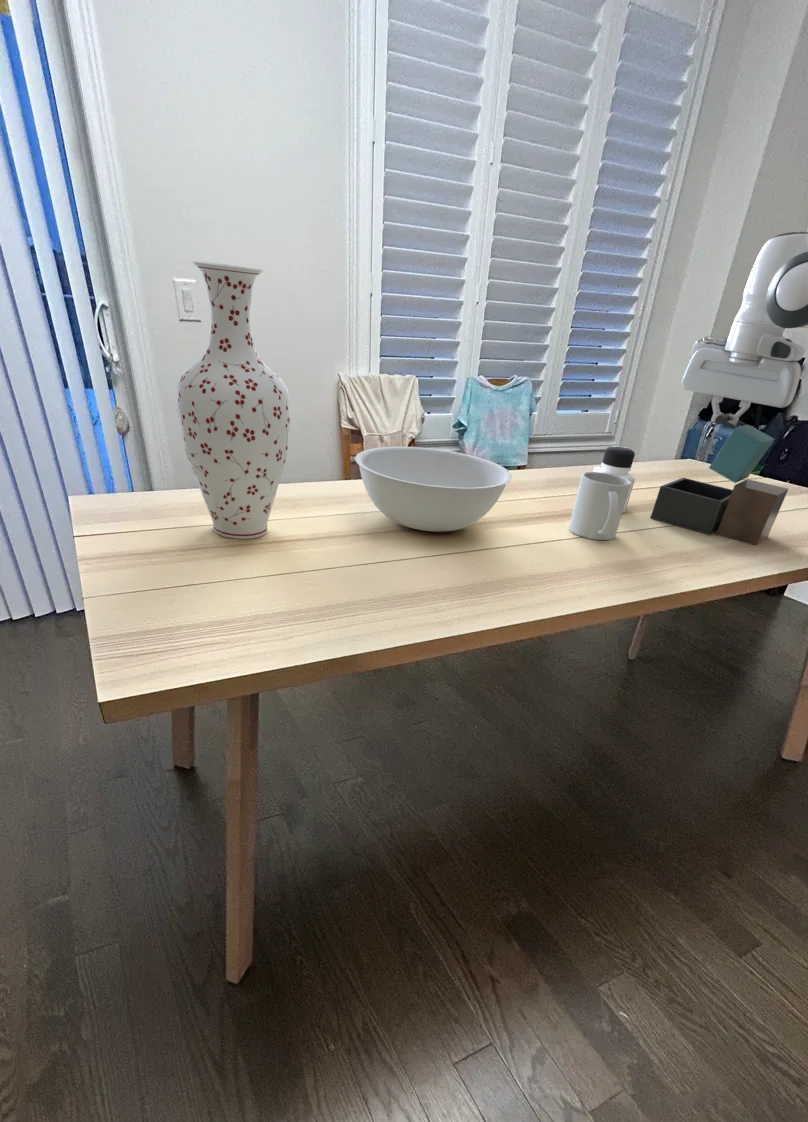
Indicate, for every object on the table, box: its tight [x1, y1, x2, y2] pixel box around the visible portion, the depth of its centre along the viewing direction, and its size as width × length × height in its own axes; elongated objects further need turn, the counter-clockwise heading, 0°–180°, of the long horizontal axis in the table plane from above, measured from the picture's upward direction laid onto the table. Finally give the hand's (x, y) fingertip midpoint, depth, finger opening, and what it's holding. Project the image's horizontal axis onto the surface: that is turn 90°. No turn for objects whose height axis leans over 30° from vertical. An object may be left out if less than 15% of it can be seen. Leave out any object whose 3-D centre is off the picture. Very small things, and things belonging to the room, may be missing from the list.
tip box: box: [708, 412, 776, 484], centre depth 125 cm, size 8×9×10 cm
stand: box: [715, 478, 789, 546], centre depth 127 cm, size 8×9×10 cm
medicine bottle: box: [592, 445, 636, 514], centre depth 134 cm, size 7×7×12 cm
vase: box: [176, 260, 292, 540], centre depth 92 cm, size 16×16×35 cm
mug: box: [568, 471, 631, 541], centre depth 117 cm, size 11×10×10 cm
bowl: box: [354, 446, 513, 533], centre depth 112 cm, size 27×27×10 cm
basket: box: [650, 477, 733, 536], centre depth 133 cm, size 13×14×7 cm
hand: (723, 424), depth 124 cm, fingers closed, pressing on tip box
